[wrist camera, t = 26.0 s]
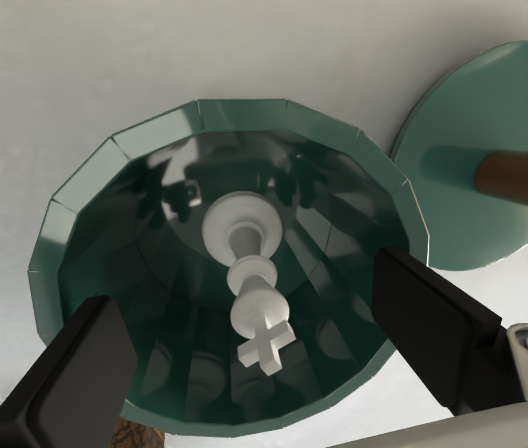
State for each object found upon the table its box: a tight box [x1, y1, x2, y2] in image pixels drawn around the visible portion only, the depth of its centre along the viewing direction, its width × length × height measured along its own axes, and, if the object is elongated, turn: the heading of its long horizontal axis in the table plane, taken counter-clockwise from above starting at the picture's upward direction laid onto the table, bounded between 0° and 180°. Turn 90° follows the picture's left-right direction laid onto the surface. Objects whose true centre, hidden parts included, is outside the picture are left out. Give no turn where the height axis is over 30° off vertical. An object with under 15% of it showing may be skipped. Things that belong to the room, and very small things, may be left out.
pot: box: [27, 99, 429, 438], centre depth 13 cm, size 14×14×8 cm
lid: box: [390, 40, 528, 271], centre depth 15 cm, size 15×15×6 cm
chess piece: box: [202, 191, 296, 376], centre depth 12 cm, size 5×5×10 cm
